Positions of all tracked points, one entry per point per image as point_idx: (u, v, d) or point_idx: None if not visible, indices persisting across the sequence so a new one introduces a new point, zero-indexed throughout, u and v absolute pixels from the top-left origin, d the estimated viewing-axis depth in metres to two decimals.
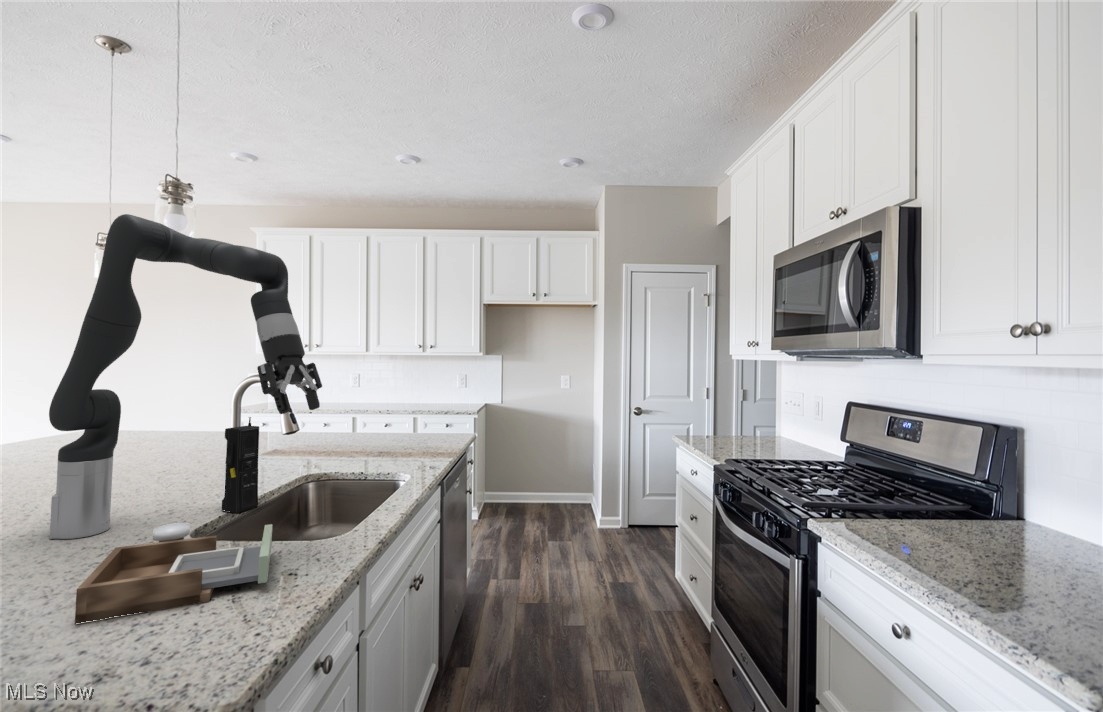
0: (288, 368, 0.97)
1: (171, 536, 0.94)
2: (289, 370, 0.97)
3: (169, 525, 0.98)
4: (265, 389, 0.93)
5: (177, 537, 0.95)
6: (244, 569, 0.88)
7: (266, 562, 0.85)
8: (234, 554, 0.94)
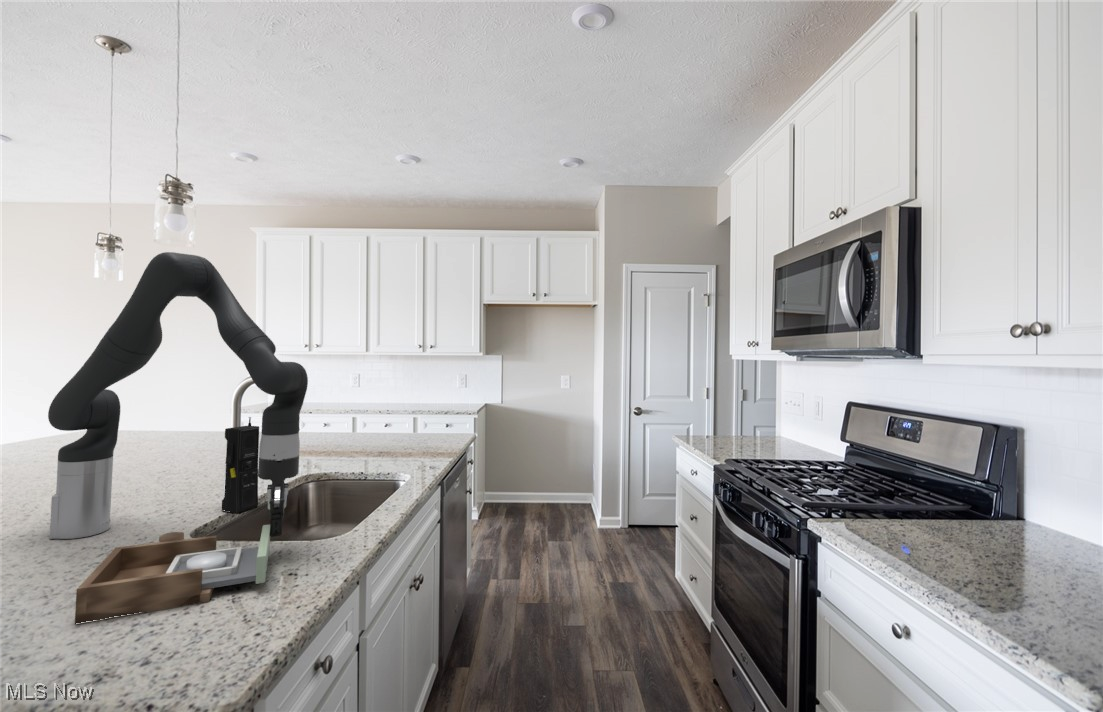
0: (286, 492, 1.00)
1: None
2: (287, 494, 1.00)
3: (206, 554, 0.90)
4: (272, 514, 0.98)
5: None
6: (242, 569, 0.88)
7: (264, 563, 0.85)
8: (232, 554, 0.94)
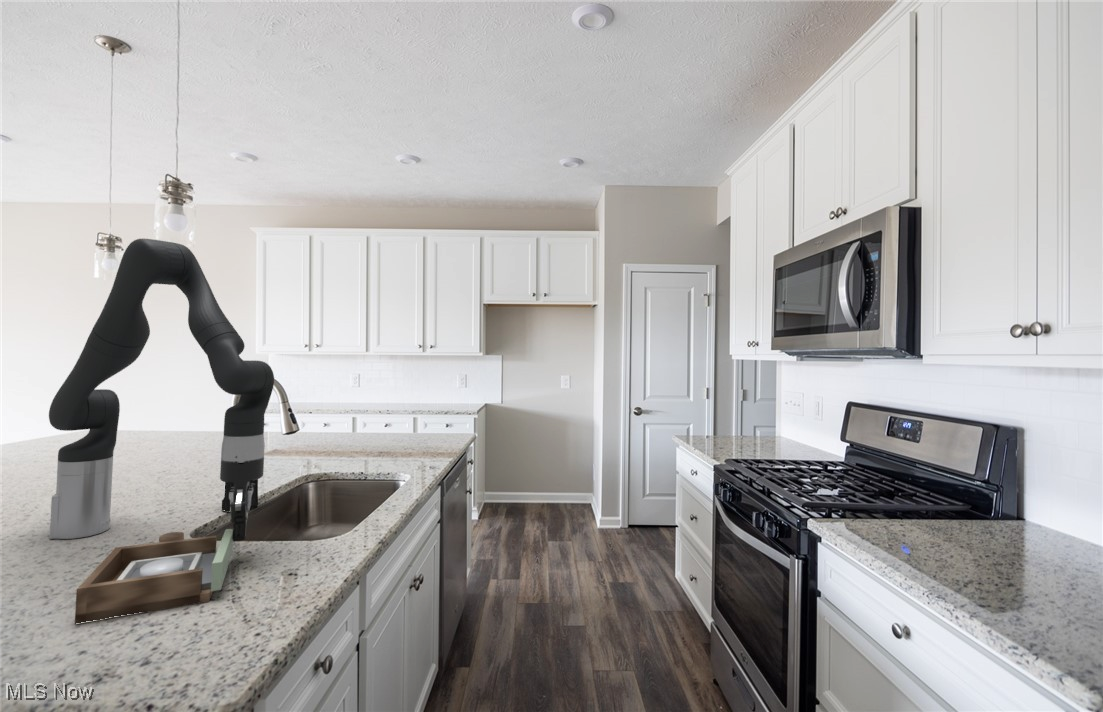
0: (249, 495, 0.97)
1: None
2: (250, 496, 0.97)
3: (163, 560, 0.87)
4: (234, 518, 0.94)
5: None
6: None
7: (220, 569, 0.82)
8: (191, 560, 0.90)
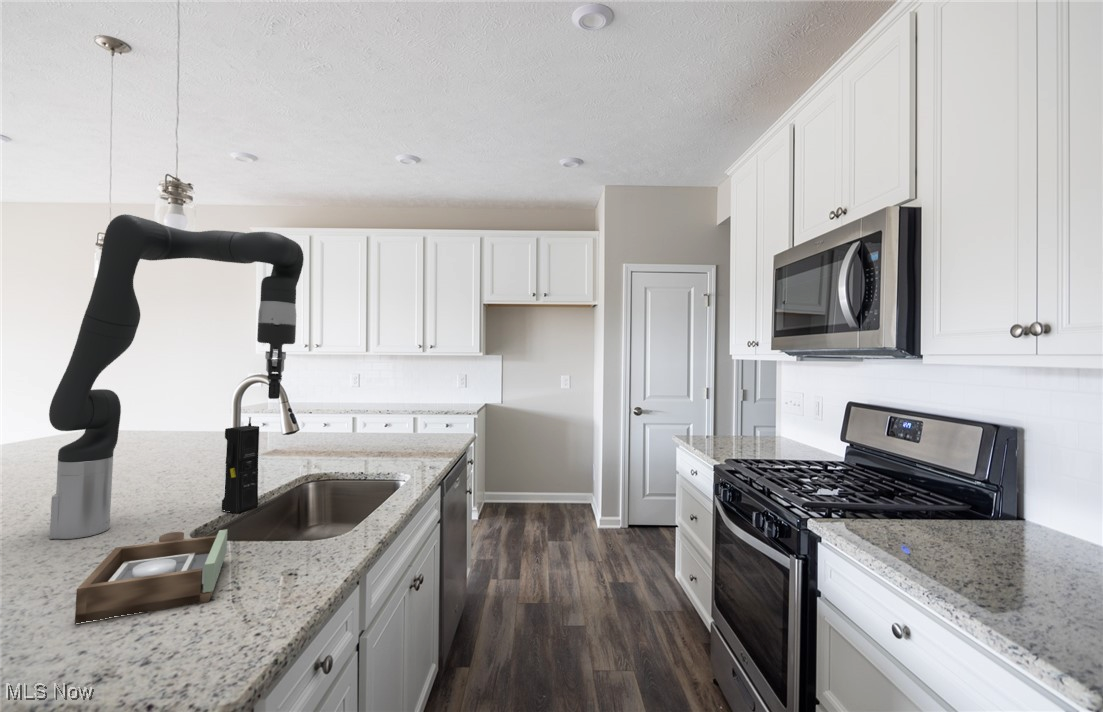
0: (283, 357, 1.06)
1: None
2: (284, 359, 1.07)
3: (160, 560, 0.86)
4: (270, 375, 1.04)
5: None
6: None
7: (212, 570, 0.81)
8: (184, 561, 0.90)
